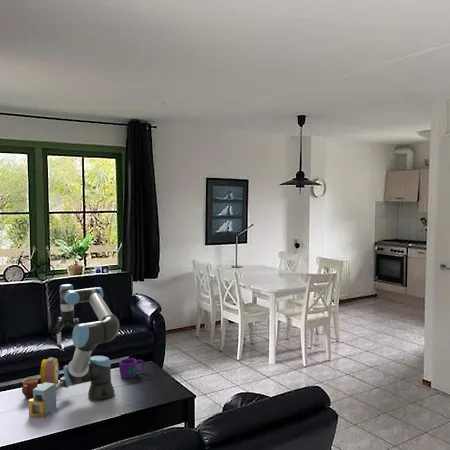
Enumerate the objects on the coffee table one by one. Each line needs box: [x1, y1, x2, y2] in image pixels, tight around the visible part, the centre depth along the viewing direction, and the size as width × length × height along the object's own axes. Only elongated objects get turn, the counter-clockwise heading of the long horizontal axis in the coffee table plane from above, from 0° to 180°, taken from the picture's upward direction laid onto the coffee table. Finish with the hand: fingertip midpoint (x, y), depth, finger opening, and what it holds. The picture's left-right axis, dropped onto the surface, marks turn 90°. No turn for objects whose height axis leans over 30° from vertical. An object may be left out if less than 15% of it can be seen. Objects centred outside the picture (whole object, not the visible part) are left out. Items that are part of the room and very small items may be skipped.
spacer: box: [27, 399, 47, 419], centre depth 257 cm, size 9×2×9 cm, turn 74°
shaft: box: [56, 376, 70, 392], centre depth 273 cm, size 5×21×5 cm, turn 164°
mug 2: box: [118, 357, 146, 379], centre depth 313 cm, size 17×11×10 cm, turn 124°
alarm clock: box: [40, 357, 60, 385], centre depth 296 cm, size 15×8×18 cm, turn 9°
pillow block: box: [33, 382, 59, 416], centre depth 263 cm, size 12×10×14 cm
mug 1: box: [21, 377, 39, 400], centre depth 280 cm, size 12×9×10 cm
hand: (69, 344), depth 288 cm, fingers open, 13 cm apart
